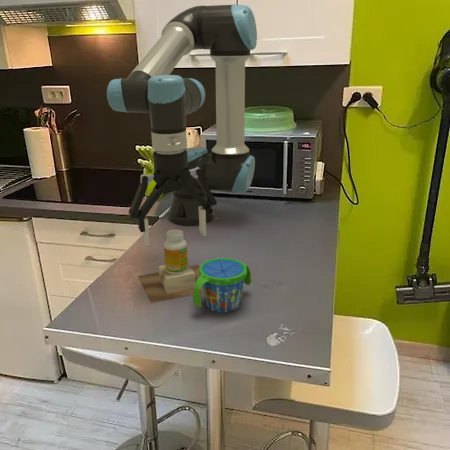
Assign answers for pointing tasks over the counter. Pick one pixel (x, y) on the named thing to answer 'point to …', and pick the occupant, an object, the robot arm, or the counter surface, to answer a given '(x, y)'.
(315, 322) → the counter surface
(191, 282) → the birch block
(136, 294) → the counter surface
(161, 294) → the board
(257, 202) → the counter surface
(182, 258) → the supplement bottle
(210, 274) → the snack cup
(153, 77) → the robot arm
